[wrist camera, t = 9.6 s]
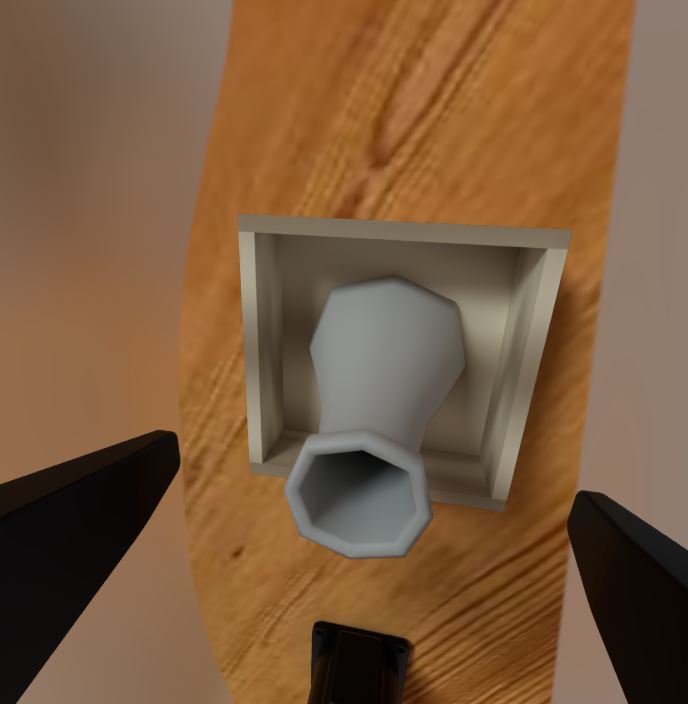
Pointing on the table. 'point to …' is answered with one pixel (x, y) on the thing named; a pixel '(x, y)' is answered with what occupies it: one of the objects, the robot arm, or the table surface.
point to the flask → (374, 416)
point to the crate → (425, 270)
